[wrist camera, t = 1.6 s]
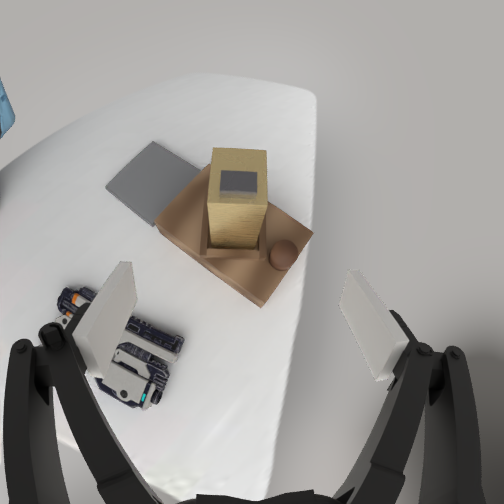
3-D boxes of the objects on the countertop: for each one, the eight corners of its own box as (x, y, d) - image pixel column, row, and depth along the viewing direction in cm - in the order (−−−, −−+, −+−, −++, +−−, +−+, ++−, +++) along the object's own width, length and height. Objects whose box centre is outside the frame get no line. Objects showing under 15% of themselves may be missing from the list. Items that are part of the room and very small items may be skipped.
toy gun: (38, 365, 29) (71, 279, 34) (147, 437, 28) (186, 339, 33) (27, 365, 26) (62, 273, 32) (141, 443, 25) (183, 337, 31)
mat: (106, 189, 39) (105, 186, 38) (153, 144, 42) (153, 141, 41) (152, 227, 37) (151, 224, 36) (202, 174, 41) (202, 171, 40)
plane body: (159, 234, 37) (148, 212, 31) (210, 178, 41) (209, 151, 35) (259, 309, 35) (267, 301, 29) (306, 242, 39) (320, 223, 33)
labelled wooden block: (211, 248, 33) (206, 195, 21) (215, 203, 35) (212, 139, 23) (254, 249, 33) (269, 198, 22) (254, 205, 35) (268, 142, 24)
